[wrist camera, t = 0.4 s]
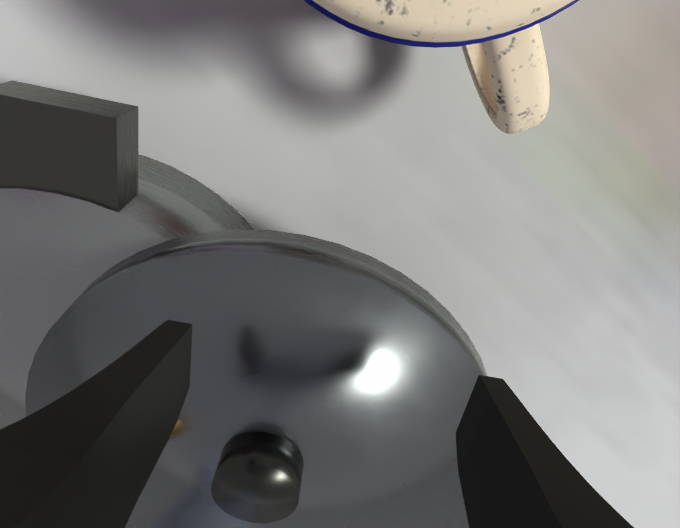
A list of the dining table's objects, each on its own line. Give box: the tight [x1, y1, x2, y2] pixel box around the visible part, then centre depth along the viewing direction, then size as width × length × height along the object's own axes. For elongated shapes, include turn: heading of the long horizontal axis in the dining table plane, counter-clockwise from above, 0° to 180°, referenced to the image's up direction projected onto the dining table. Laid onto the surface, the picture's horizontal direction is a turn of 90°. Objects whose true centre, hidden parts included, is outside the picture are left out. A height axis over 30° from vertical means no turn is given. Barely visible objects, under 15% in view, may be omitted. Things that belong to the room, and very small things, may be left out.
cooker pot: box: [0, 81, 254, 429], centre depth 22 cm, size 22×16×5 cm
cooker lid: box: [25, 230, 487, 528], centre depth 19 cm, size 17×17×3 cm
